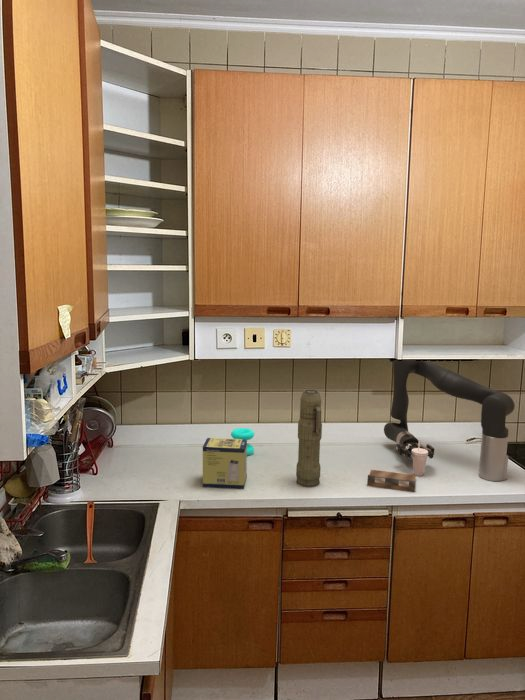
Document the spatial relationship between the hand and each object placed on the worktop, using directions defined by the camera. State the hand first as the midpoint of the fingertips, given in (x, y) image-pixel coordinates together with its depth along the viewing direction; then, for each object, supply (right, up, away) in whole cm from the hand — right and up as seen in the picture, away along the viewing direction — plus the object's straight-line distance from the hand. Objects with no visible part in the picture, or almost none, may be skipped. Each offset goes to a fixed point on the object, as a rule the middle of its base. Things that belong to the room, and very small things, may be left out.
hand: (421, 456), depth 209 cm
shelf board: (-13, -9, -6) cm, 17 cm away
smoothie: (0, -8, +3) cm, 8 cm away
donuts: (-70, -3, +23) cm, 74 cm away
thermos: (-45, -9, -8) cm, 46 cm away
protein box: (-76, -8, -9) cm, 77 cm away
